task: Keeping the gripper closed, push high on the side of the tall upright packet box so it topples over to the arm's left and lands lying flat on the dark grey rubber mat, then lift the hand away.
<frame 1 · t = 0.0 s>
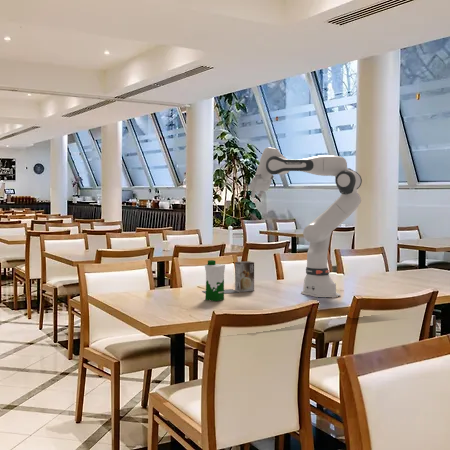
hand: (255, 197, 335), 52 cm above the table, tool tilted 20°, fingers open, 8 cm apart
coffee box: (244, 290, 326), on the table
mat: (220, 292, 321), on the table
milk carton: (214, 300, 299), on the table
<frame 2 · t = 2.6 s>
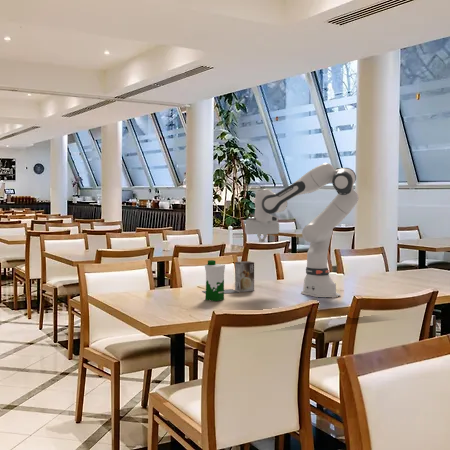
hand: (261, 242, 329), 27 cm above the table, tool pointing down, fingers closed
nothing on the table moved.
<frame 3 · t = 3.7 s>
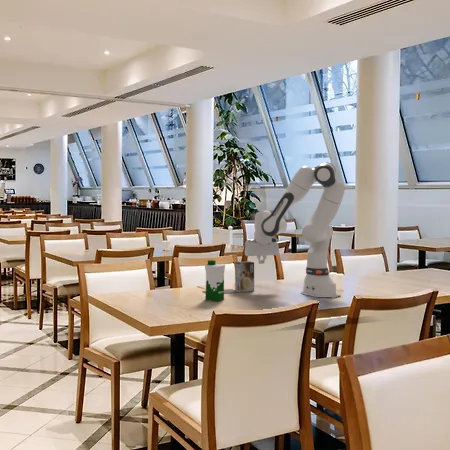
hand: (261, 263, 330), 15 cm above the table, tool pointing down, fingers closed
nothing on the table moved.
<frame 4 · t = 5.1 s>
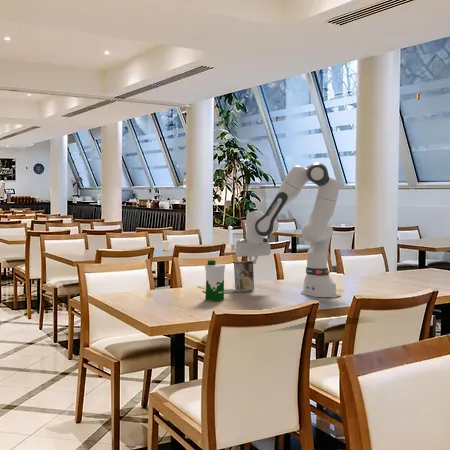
hand: (253, 263, 328), 15 cm above the table, tool pointing down, fingers closed
nothing on the table moved.
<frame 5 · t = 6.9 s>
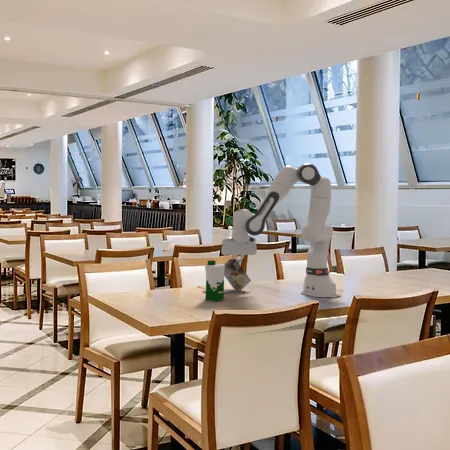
hand: (238, 262, 324), 16 cm above the table, tool pointing down, fingers closed
coffee box: (243, 286, 326), point 3 cm above the table, touching gripper
everything else where it was.
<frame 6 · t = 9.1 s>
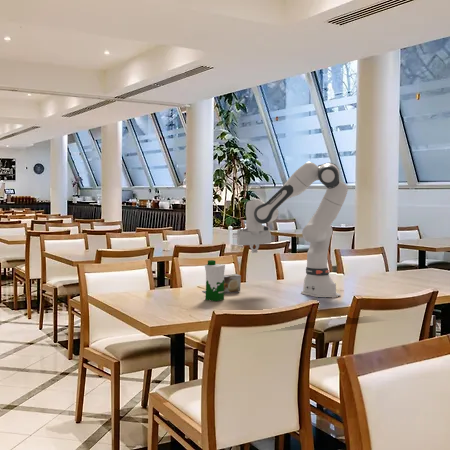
hand: (254, 252, 327), 21 cm above the table, tool pointing down, fingers closed
coffee box: (238, 282, 324), point 5 cm above the table, touching mat
everything else where it was.
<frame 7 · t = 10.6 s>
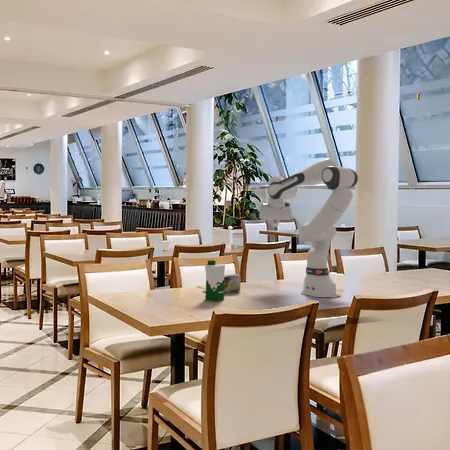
hand: (275, 227, 347), 34 cm above the table, tool pointing down, fingers closed
nothing on the table moved.
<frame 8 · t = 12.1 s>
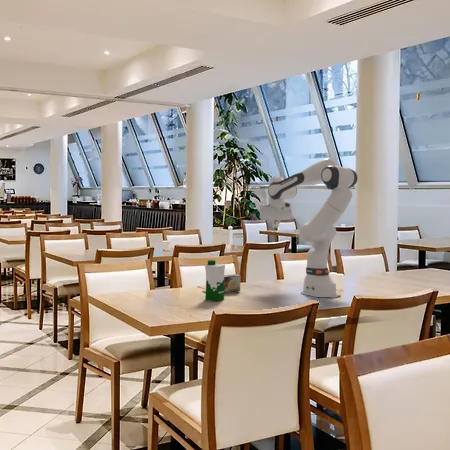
hand: (275, 227, 347), 34 cm above the table, tool pointing down, fingers closed
nothing on the table moved.
at the end: coffee box tilted 89°; coffee box inside the target area (4.8 cm from its centre), point 4.7 cm above the table; coffee box touching mat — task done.
